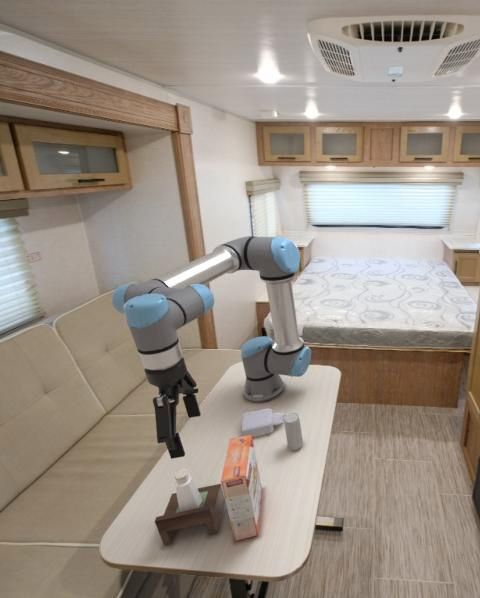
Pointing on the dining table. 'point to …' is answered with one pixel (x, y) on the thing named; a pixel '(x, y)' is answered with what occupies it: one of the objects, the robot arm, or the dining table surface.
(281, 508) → the dining table surface
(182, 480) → the salt shaker
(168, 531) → the shelf
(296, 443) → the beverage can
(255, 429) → the charger
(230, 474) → the cracker box
